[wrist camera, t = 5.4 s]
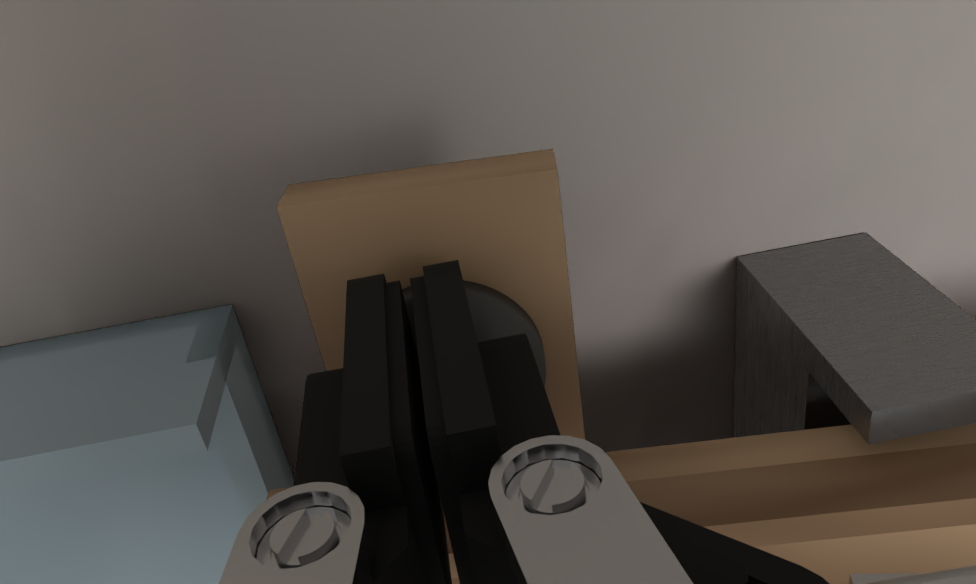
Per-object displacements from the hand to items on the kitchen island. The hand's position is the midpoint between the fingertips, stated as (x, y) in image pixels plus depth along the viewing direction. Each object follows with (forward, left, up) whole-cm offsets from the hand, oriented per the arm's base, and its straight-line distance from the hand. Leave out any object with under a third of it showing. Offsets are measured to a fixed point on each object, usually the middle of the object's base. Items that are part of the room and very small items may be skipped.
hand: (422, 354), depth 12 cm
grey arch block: (+7, +9, -5) cm, 12 cm away
